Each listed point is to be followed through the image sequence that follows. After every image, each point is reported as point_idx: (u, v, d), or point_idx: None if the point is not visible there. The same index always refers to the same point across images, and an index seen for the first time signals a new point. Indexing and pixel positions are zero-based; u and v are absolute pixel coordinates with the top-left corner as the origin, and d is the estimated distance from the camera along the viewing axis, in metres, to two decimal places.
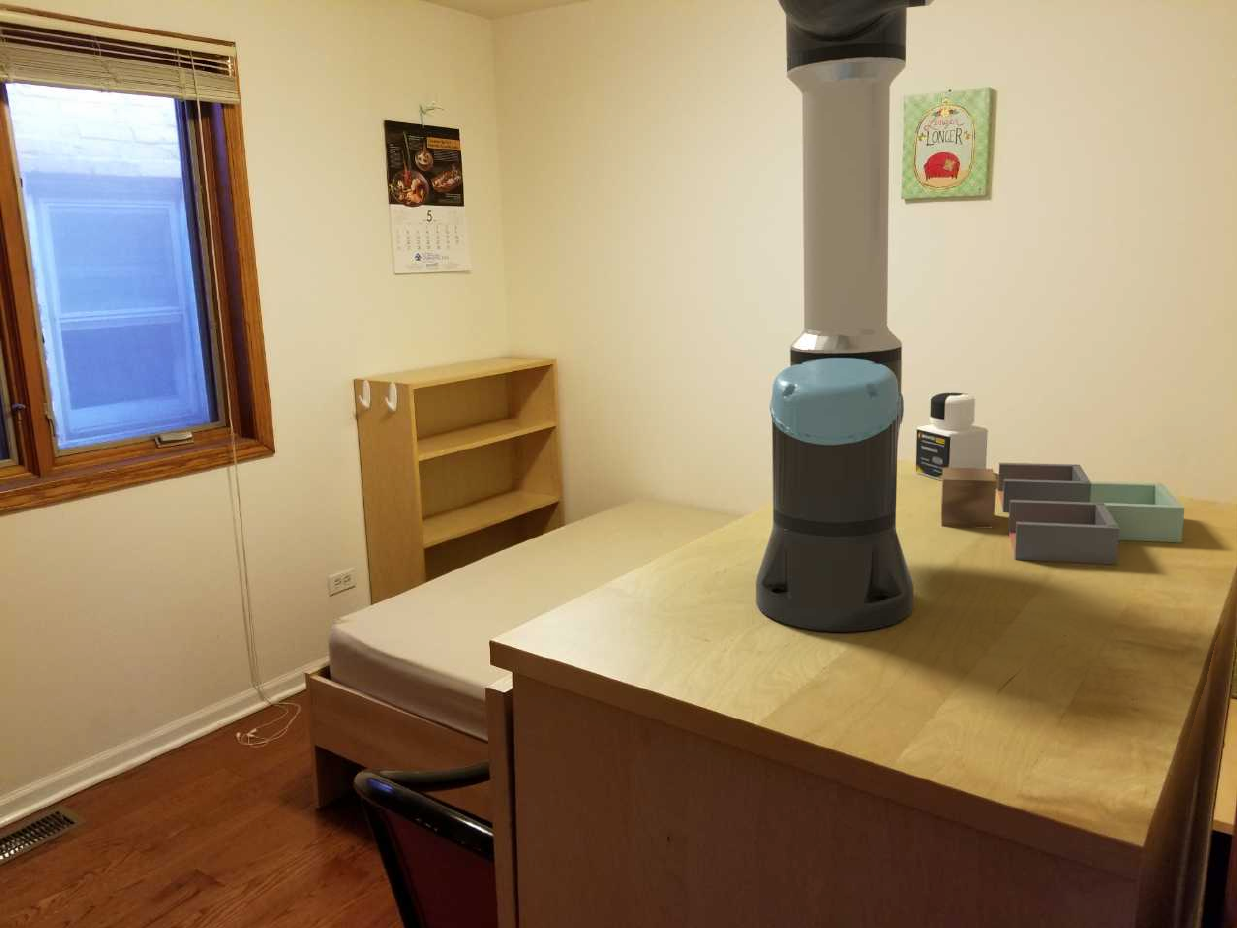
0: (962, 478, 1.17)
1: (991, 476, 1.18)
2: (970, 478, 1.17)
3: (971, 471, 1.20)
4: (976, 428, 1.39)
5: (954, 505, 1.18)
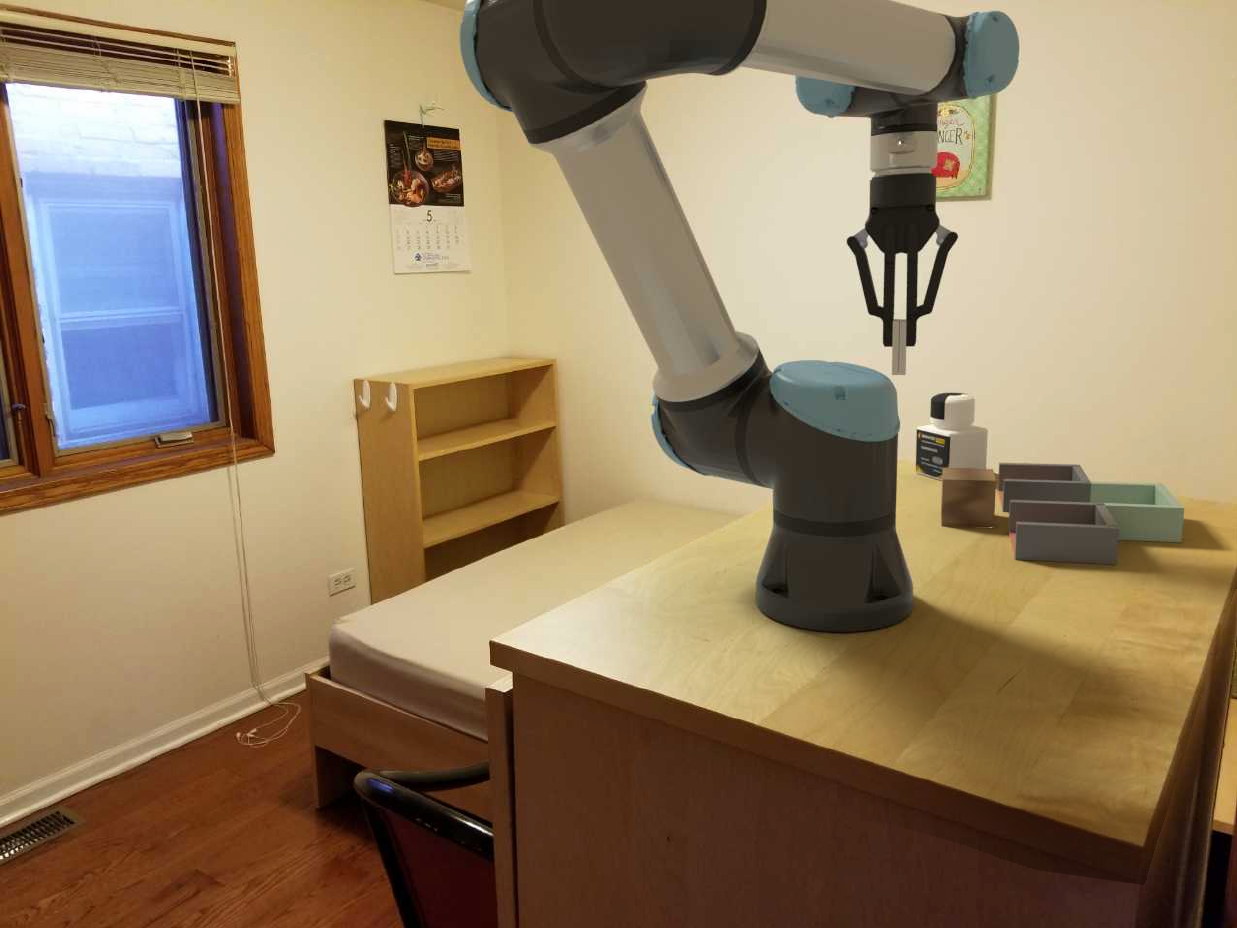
0: (962, 478, 1.17)
1: (991, 476, 1.18)
2: (970, 478, 1.17)
3: (971, 471, 1.20)
4: (976, 428, 1.39)
5: (954, 505, 1.18)
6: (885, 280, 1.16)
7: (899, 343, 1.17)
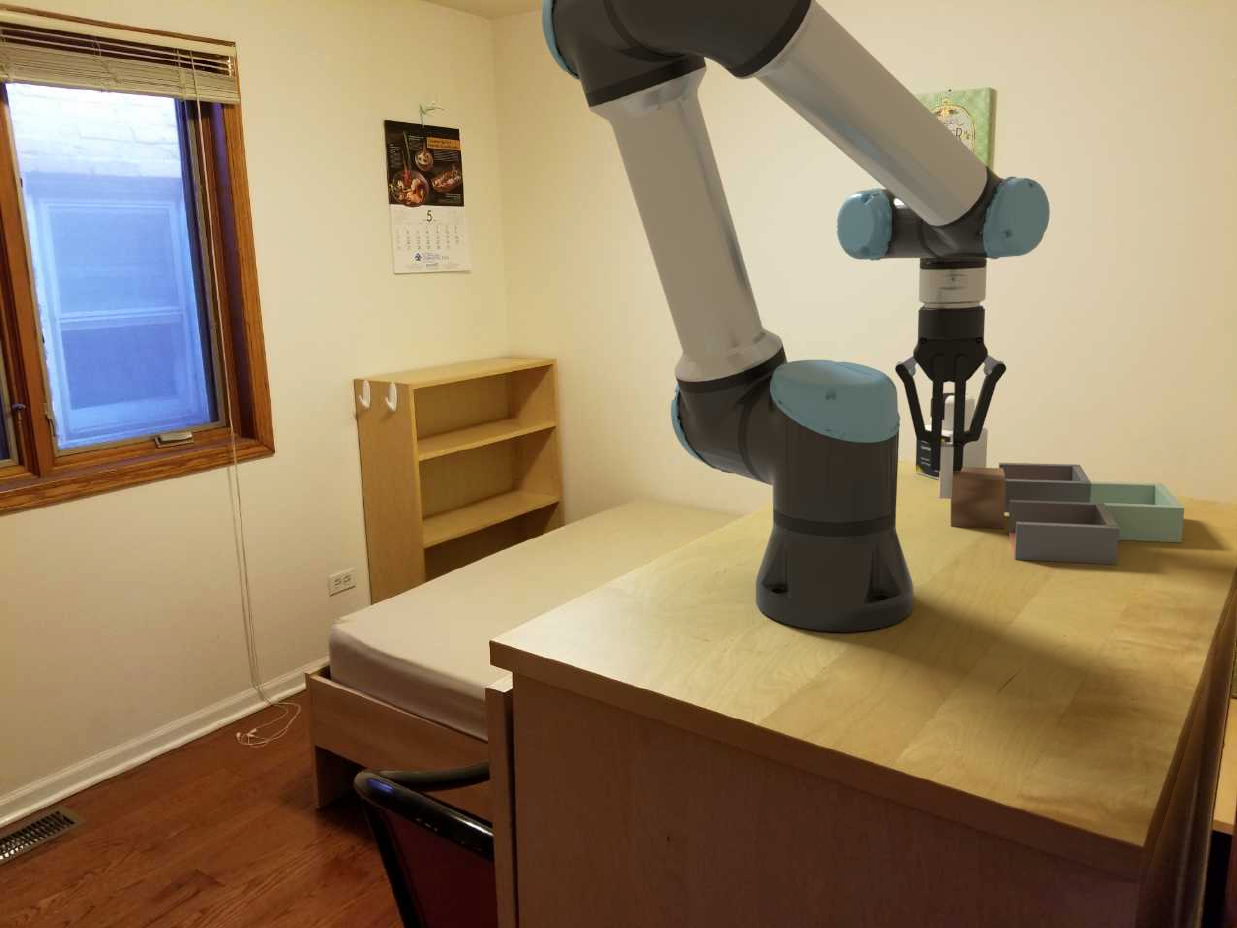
0: (972, 477, 1.17)
1: (1001, 475, 1.17)
2: (980, 477, 1.17)
3: (981, 470, 1.20)
4: None
5: (963, 504, 1.17)
6: (933, 407, 1.18)
7: (947, 468, 1.19)
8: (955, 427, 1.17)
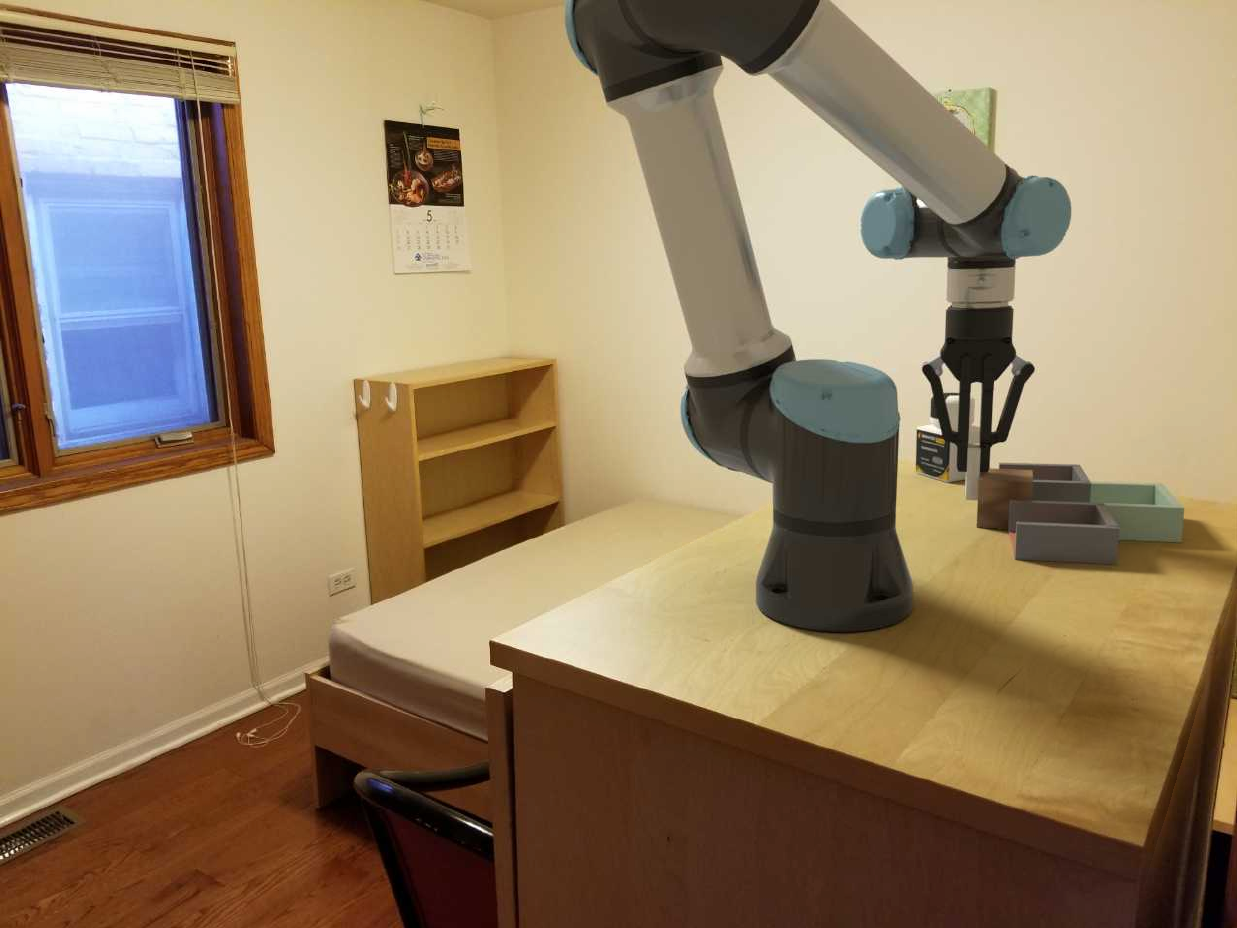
0: (998, 479, 1.16)
1: (1029, 477, 1.16)
2: (1007, 479, 1.16)
3: (1009, 472, 1.19)
4: (976, 428, 1.39)
5: (990, 505, 1.16)
6: (960, 408, 1.17)
7: (974, 469, 1.18)
8: (982, 428, 1.16)
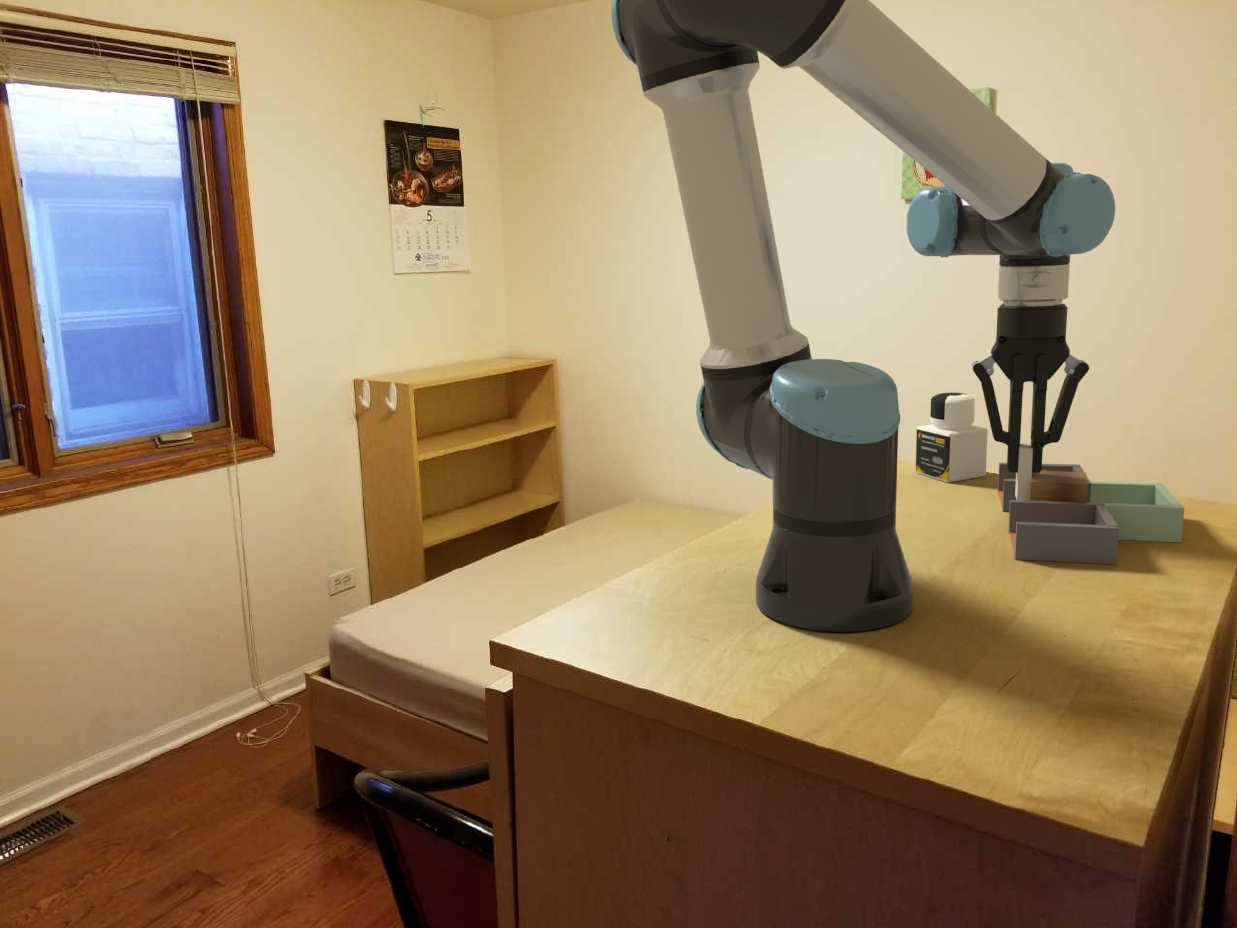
0: (1052, 481, 1.14)
1: (1083, 480, 1.14)
2: (1060, 481, 1.14)
3: (1062, 474, 1.17)
4: (976, 428, 1.39)
5: None
6: (1012, 408, 1.15)
7: (1025, 470, 1.16)
8: (1035, 428, 1.15)
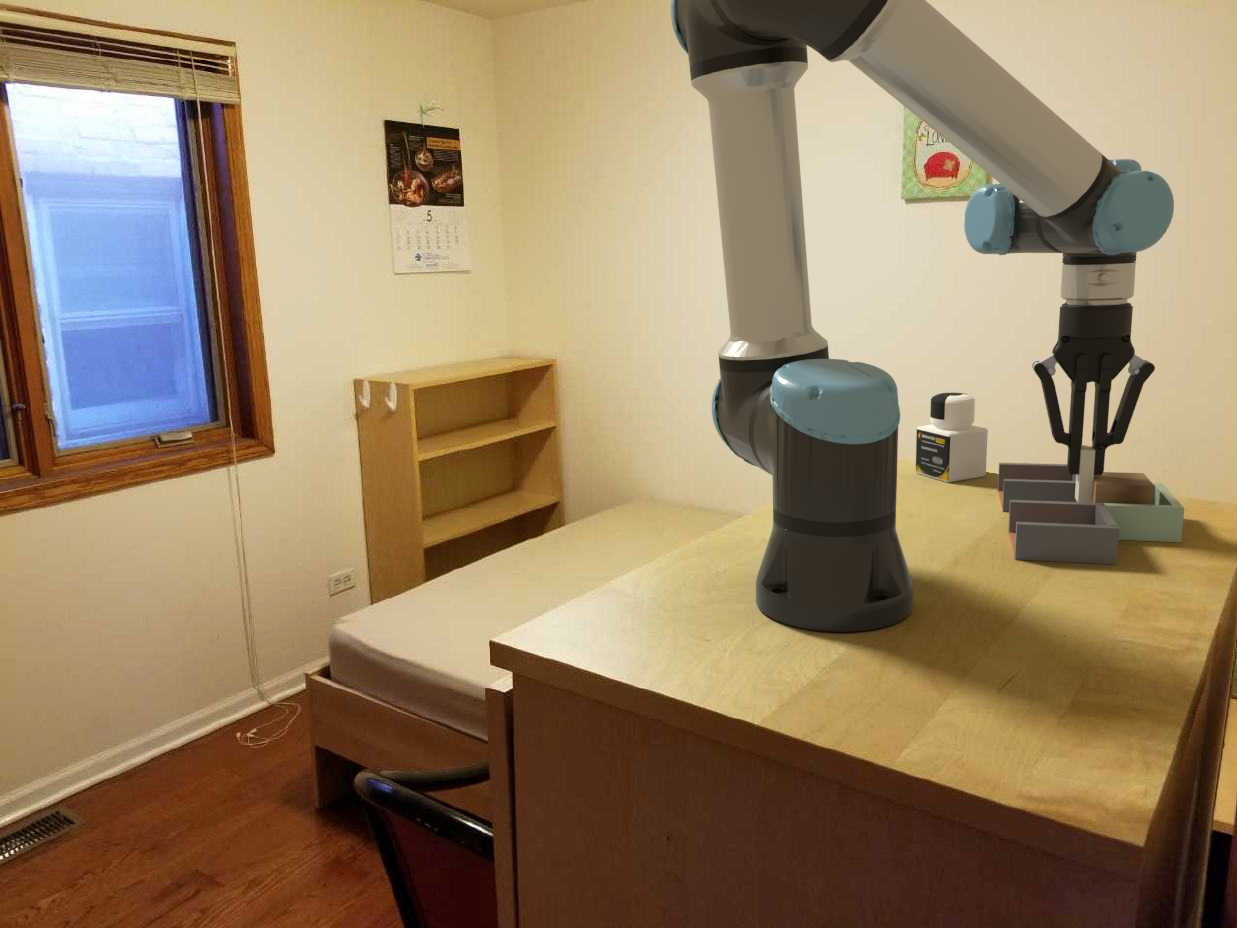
0: (1116, 483, 1.12)
1: (1146, 481, 1.12)
2: (1125, 483, 1.12)
3: (1122, 475, 1.15)
4: (976, 428, 1.39)
5: None
6: (1074, 408, 1.13)
7: (1087, 472, 1.14)
8: (1097, 429, 1.13)
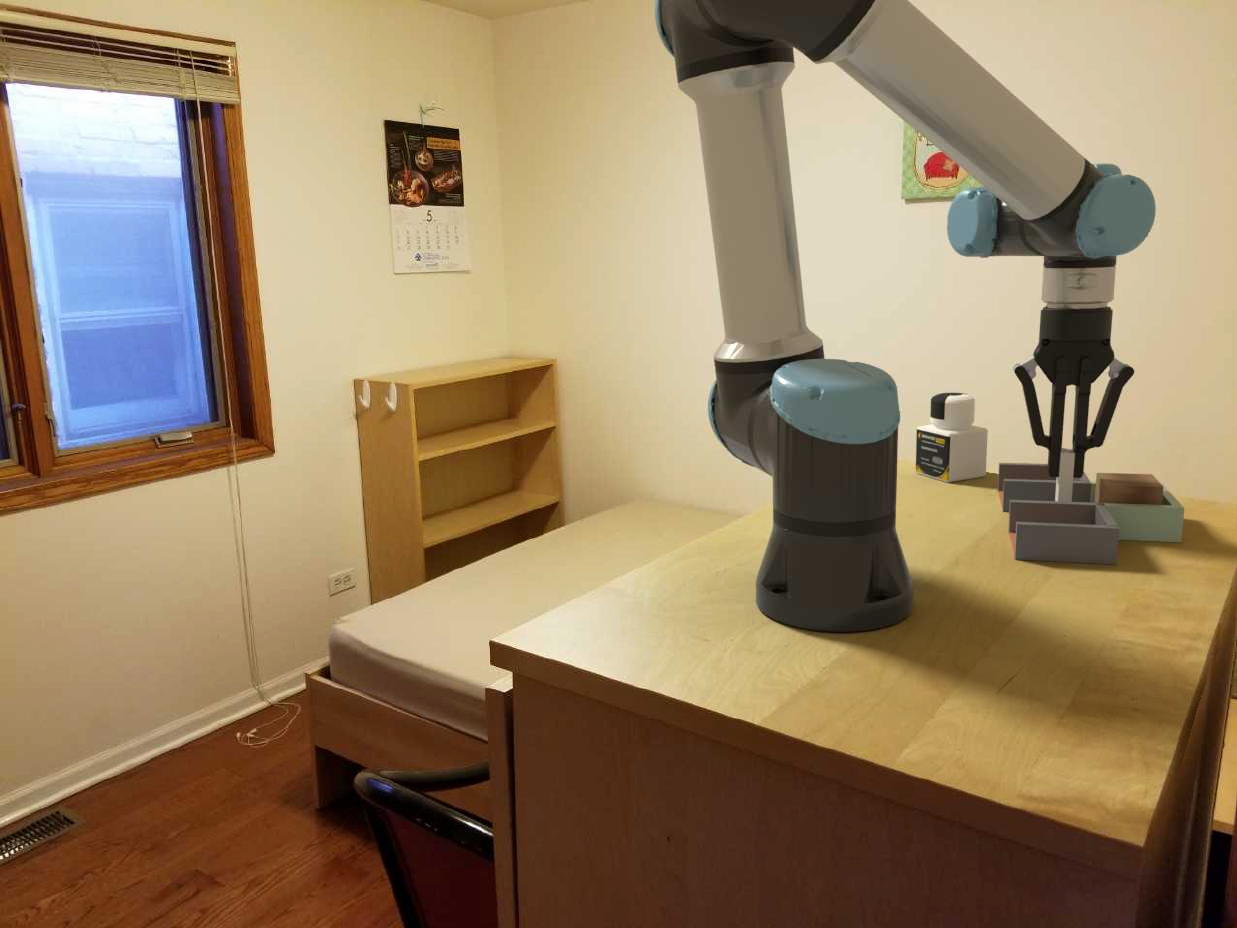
0: (1125, 484, 1.12)
1: (1155, 482, 1.12)
2: (1134, 484, 1.11)
3: (1130, 476, 1.15)
4: (976, 428, 1.39)
5: None
6: (1054, 411, 1.13)
7: (1067, 475, 1.14)
8: (1077, 432, 1.13)
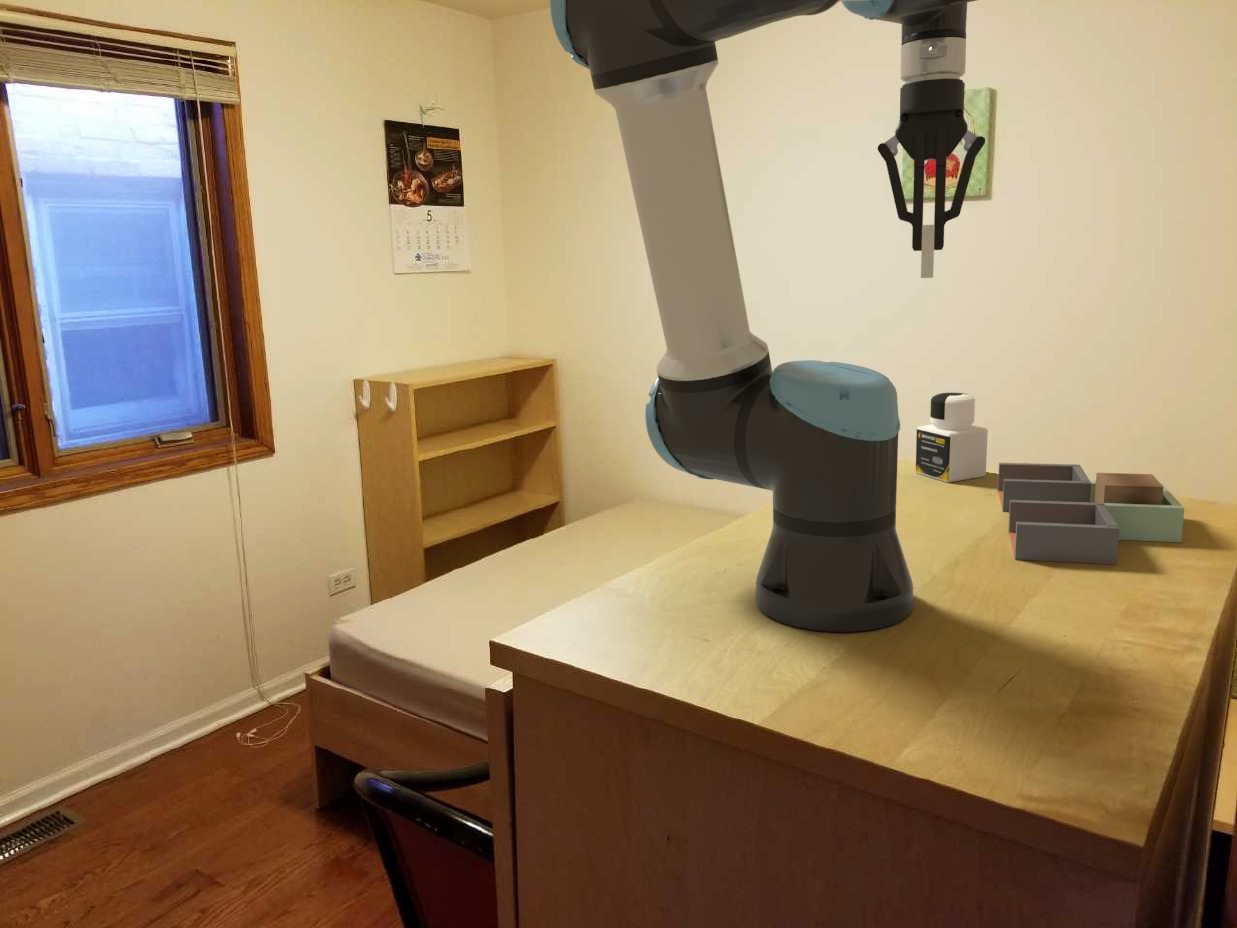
0: (1125, 484, 1.12)
1: (1155, 482, 1.12)
2: (1133, 484, 1.11)
3: (1130, 476, 1.15)
4: (976, 428, 1.39)
5: None
6: (915, 185, 1.21)
7: (928, 246, 1.22)
8: (936, 204, 1.21)
